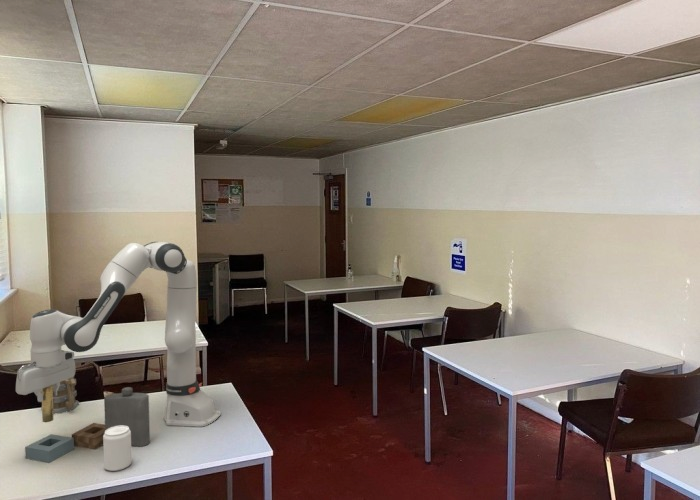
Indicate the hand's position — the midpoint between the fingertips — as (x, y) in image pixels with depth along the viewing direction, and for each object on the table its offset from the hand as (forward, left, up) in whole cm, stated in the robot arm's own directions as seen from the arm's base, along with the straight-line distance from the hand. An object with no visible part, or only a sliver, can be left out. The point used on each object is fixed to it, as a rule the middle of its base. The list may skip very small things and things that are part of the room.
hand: (47, 398), depth 165 cm
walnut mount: (-7, -12, -19) cm, 24 cm away
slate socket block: (0, 0, -19) cm, 19 cm away
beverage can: (-28, 0, -20) cm, 34 cm away
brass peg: (0, 0, -8) cm, 8 cm away
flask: (-20, -14, -20) cm, 31 cm away
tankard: (+27, -31, -20) cm, 46 cm away
